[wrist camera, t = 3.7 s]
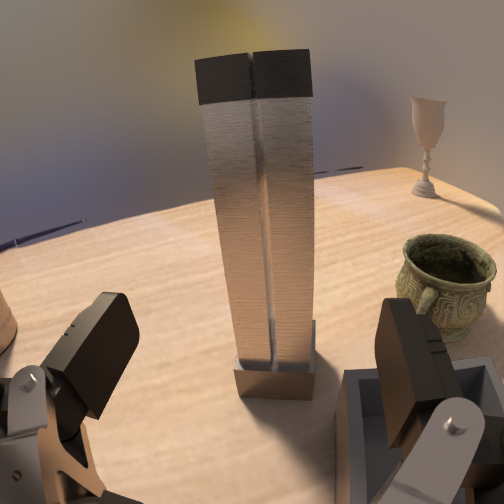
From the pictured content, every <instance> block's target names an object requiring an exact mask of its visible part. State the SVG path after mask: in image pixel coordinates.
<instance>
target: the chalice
mask: <svg viewBox="0 0 504 504" xmlns="http://www.w3.org/2000/svg"><path fill="white" fill-rule="evenodd" d="M410 99H411V101H412V123H413V127H414V130H415V133H416V136H417V138H418V140H419V143H420V145H421V146H422V147H423V148H424V149H425V154H424V157H423V160H424V166H423V167H422V169H423V178H421V180H418V181H417V182H416V184H415V186H414V188H413V190H412V193H413V194H415V195H417V196H420V197H425V198H434V197H436V194H435V189H434V185H433V183H432V182H430V181H429V179H428V173H429V171H430V168H429V162H430V160H431V159H430V155H429V153H430V149H432V148H434V147H435V146H436V144H437V142H438V141H439V139H440V137H441V134H442V131H443V128H444V107H445V105H446V103H447V102H446V101H439V100H432V99H424V98H416V97H410Z"/></svg>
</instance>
